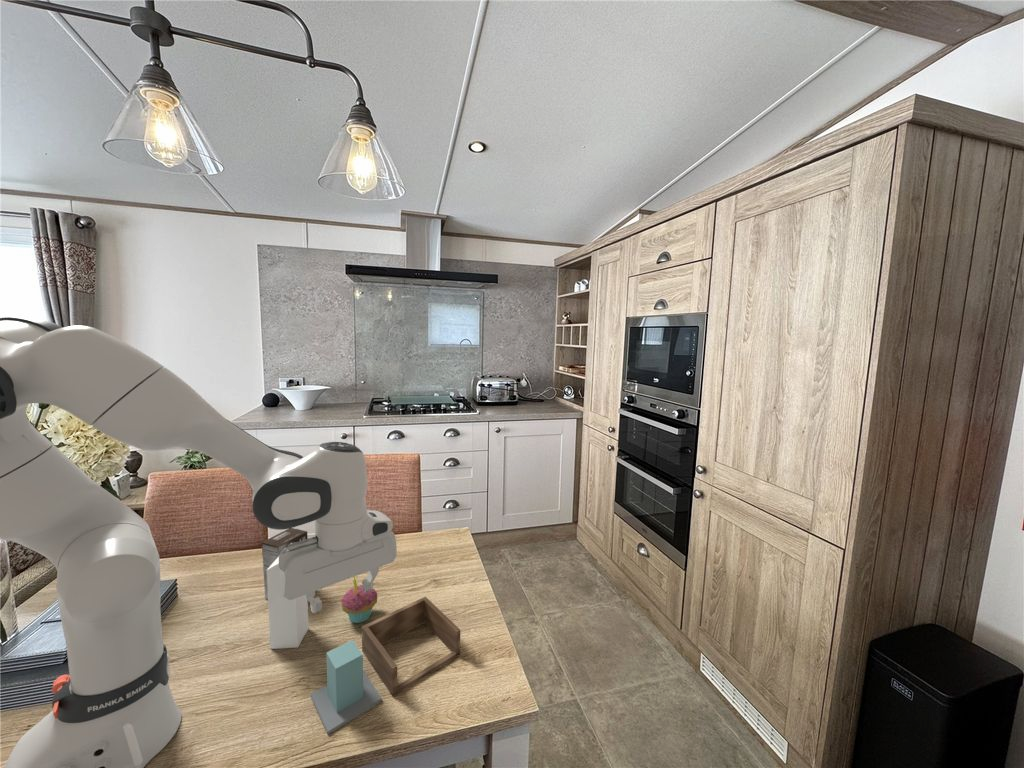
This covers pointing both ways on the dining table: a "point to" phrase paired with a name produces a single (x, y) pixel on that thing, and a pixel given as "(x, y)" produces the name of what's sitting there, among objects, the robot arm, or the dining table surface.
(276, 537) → the coffee box
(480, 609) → the dining table surface
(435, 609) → the crate
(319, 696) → the mat
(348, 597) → the cupcake
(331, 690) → the block
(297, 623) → the milk
